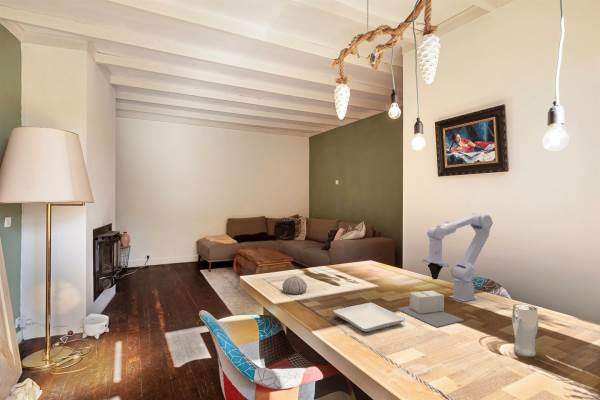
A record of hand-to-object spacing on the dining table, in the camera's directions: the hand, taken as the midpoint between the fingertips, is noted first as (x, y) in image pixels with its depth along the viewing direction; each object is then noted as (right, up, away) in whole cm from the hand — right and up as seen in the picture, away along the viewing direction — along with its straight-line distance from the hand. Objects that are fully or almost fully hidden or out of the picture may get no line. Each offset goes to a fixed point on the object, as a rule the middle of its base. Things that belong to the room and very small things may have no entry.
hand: (434, 279), depth 157 cm
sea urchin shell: (-69, -10, +13) cm, 71 cm away
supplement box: (-4, -6, -13) cm, 15 cm away
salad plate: (-39, -11, -27) cm, 48 cm away
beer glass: (+7, -11, -52) cm, 54 cm away
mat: (-11, -11, -20) cm, 25 cm away
